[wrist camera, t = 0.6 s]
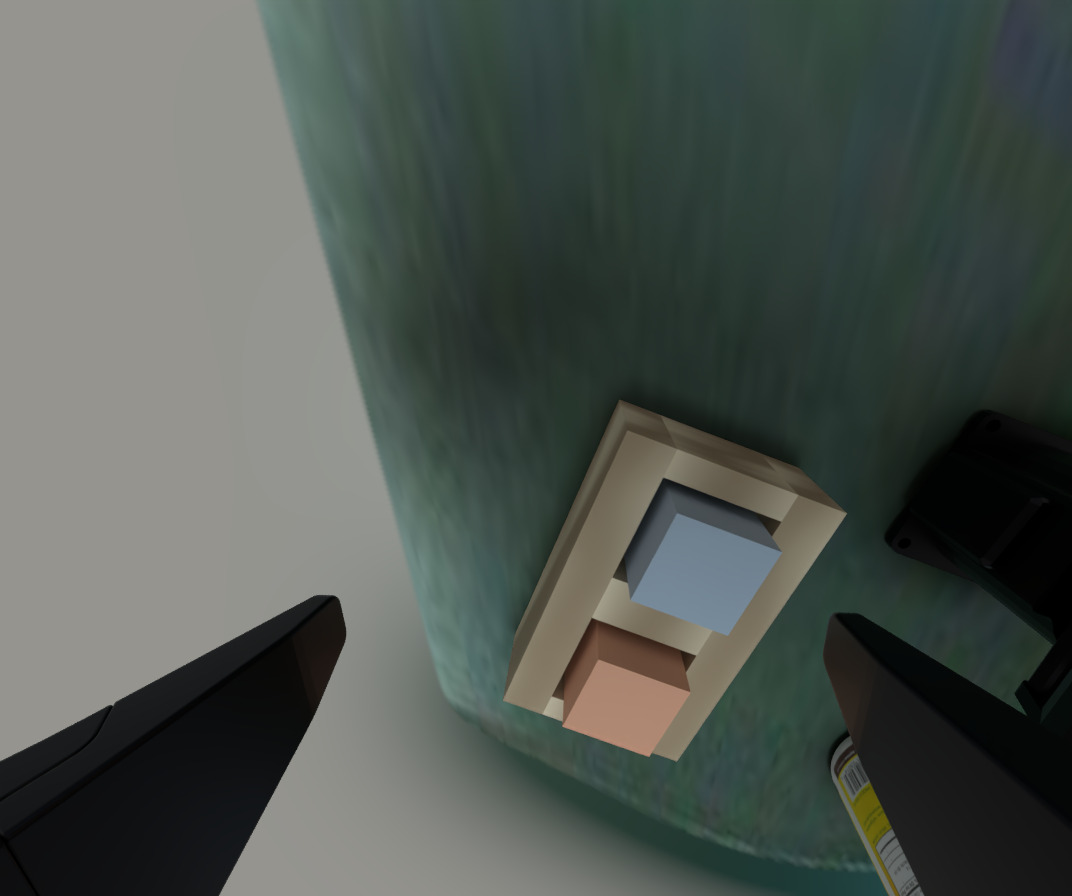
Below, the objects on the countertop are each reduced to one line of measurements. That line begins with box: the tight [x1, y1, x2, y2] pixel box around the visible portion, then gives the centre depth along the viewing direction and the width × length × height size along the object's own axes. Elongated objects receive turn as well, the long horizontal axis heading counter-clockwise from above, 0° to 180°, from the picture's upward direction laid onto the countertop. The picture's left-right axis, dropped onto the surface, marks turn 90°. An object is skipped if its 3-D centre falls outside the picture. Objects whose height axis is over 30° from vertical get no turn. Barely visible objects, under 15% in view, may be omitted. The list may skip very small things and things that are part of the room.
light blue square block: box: [624, 478, 782, 636], centre depth 18 cm, size 4×4×3 cm
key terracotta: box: [562, 618, 691, 757], centre depth 20 cm, size 4×4×3 cm
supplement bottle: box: [831, 736, 924, 896], centre depth 21 cm, size 6×6×10 cm
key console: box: [503, 399, 847, 761], centre depth 21 cm, size 8×13×4 cm, turn 160°
